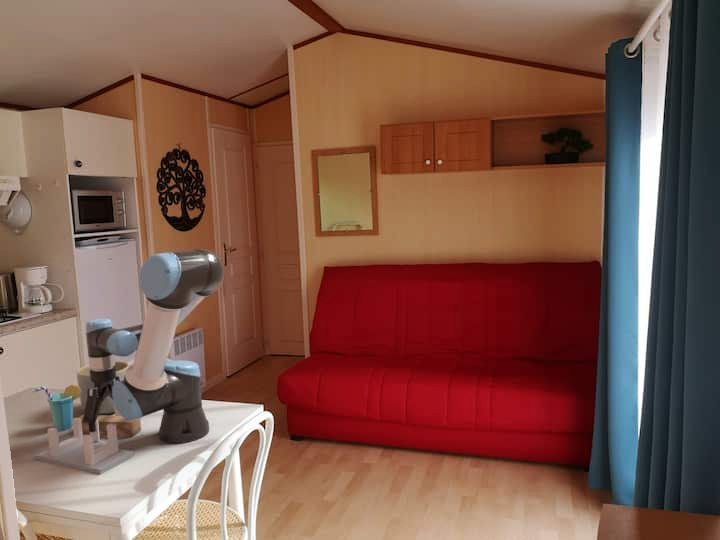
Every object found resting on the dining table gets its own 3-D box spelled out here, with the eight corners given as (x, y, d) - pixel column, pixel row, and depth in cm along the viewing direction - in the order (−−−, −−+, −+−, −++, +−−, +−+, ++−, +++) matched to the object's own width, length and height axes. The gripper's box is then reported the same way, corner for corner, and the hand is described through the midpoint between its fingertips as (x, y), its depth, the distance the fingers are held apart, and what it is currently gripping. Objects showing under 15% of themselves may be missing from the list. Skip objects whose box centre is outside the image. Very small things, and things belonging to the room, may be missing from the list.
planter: (79, 407, 210) (75, 366, 208) (129, 398, 218) (125, 358, 216) (81, 422, 196) (77, 378, 194) (135, 412, 203) (131, 370, 201)
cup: (36, 437, 184) (32, 391, 182) (36, 429, 191) (31, 385, 189) (85, 427, 191) (81, 383, 189) (83, 420, 198) (79, 377, 196)
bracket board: (134, 455, 169) (131, 425, 168) (100, 474, 158) (97, 441, 157) (70, 442, 179) (67, 414, 178) (35, 459, 169) (31, 428, 167)
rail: (141, 431, 187) (140, 416, 187) (133, 437, 182) (131, 422, 182) (84, 429, 190) (83, 414, 190) (74, 435, 186) (73, 420, 185)
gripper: (114, 356, 197) (119, 416, 199) (65, 380, 172) (72, 448, 175) (134, 356, 195) (139, 417, 198) (89, 380, 171) (95, 449, 174)
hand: (108, 432), depth 187 cm, fingers open, 13 cm apart
